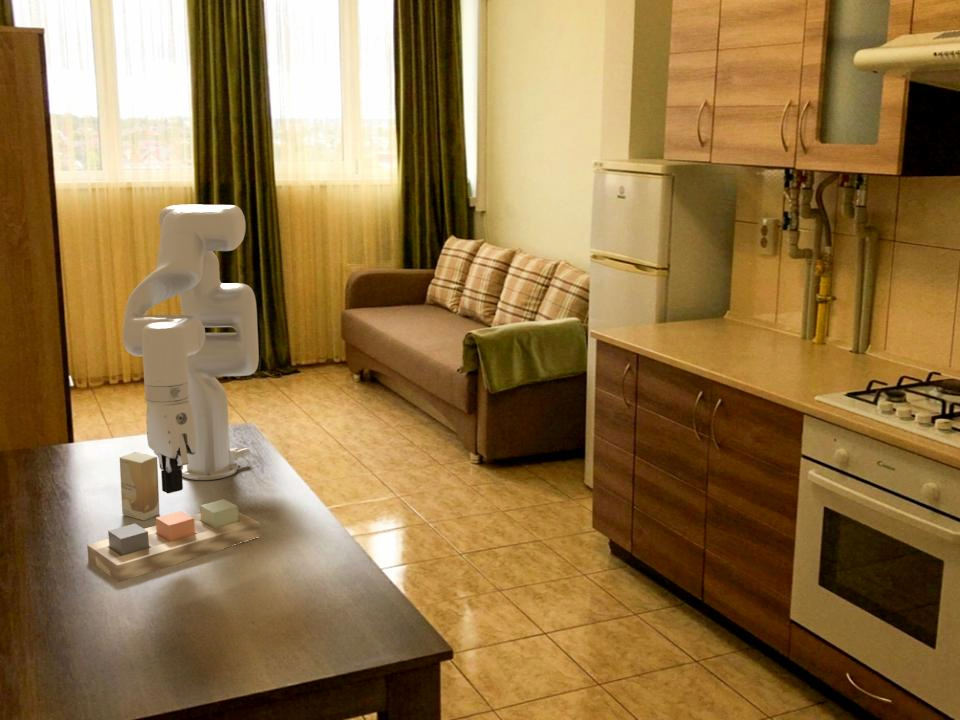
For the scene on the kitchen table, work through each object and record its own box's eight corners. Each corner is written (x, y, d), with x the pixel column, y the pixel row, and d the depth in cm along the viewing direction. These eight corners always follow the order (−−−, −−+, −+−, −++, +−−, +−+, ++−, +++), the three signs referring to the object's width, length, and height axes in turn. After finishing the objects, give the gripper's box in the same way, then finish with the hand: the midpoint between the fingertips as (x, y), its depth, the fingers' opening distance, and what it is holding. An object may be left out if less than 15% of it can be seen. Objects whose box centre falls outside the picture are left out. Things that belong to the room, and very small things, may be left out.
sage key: (224, 517, 197) (223, 499, 196) (238, 525, 193) (237, 506, 192) (201, 524, 193) (200, 505, 193) (214, 532, 190) (213, 512, 189)
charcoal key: (136, 543, 185) (134, 523, 184) (149, 551, 181) (148, 531, 180) (109, 550, 181) (108, 530, 180) (122, 559, 178) (120, 539, 177)
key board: (227, 520, 201) (226, 505, 201) (260, 537, 193) (259, 522, 192) (88, 560, 182) (87, 544, 182) (118, 581, 174) (117, 565, 173)
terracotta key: (181, 530, 191) (180, 510, 190) (195, 537, 187) (194, 518, 186) (156, 537, 187) (155, 517, 186) (170, 545, 184) (168, 525, 183)
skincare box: (121, 515, 203) (117, 456, 201) (138, 508, 207) (134, 450, 204) (145, 521, 200) (141, 462, 198) (161, 514, 204) (157, 456, 201)
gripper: (207, 396, 178) (212, 496, 182) (166, 382, 189) (171, 476, 192) (167, 403, 173) (173, 506, 177) (127, 388, 184) (134, 485, 187)
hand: (172, 490), depth 185 cm, fingers closed
